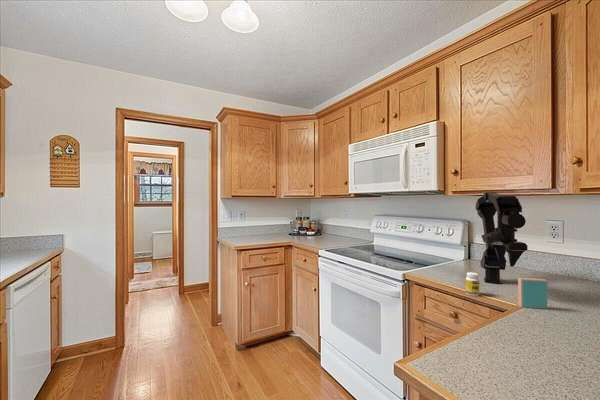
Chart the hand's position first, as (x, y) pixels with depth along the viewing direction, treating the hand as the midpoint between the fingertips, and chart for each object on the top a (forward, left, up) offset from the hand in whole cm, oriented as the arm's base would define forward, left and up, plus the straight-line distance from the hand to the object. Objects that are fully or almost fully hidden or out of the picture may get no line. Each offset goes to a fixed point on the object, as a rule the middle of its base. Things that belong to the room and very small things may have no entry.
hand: (506, 263), depth 113 cm
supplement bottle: (+8, -12, -12) cm, 19 cm away
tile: (+13, +6, -12) cm, 19 cm away
